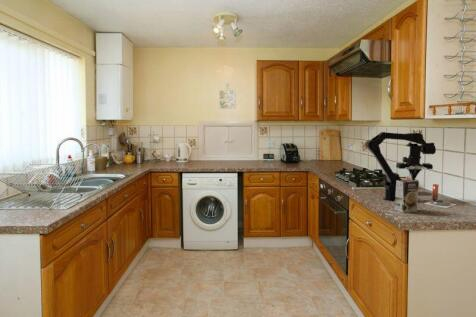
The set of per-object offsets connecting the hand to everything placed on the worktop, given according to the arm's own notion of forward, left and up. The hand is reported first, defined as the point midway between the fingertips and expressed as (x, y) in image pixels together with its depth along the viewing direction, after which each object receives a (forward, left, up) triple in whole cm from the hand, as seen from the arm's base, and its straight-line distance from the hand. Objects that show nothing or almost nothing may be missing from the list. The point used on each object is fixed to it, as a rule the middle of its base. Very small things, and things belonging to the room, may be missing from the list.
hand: (413, 180), depth 204 cm
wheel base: (+2, -15, -12) cm, 19 cm away
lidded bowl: (+16, +12, -12) cm, 23 cm away
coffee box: (-28, -11, -12) cm, 32 cm away
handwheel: (+2, -15, -12) cm, 19 cm away
